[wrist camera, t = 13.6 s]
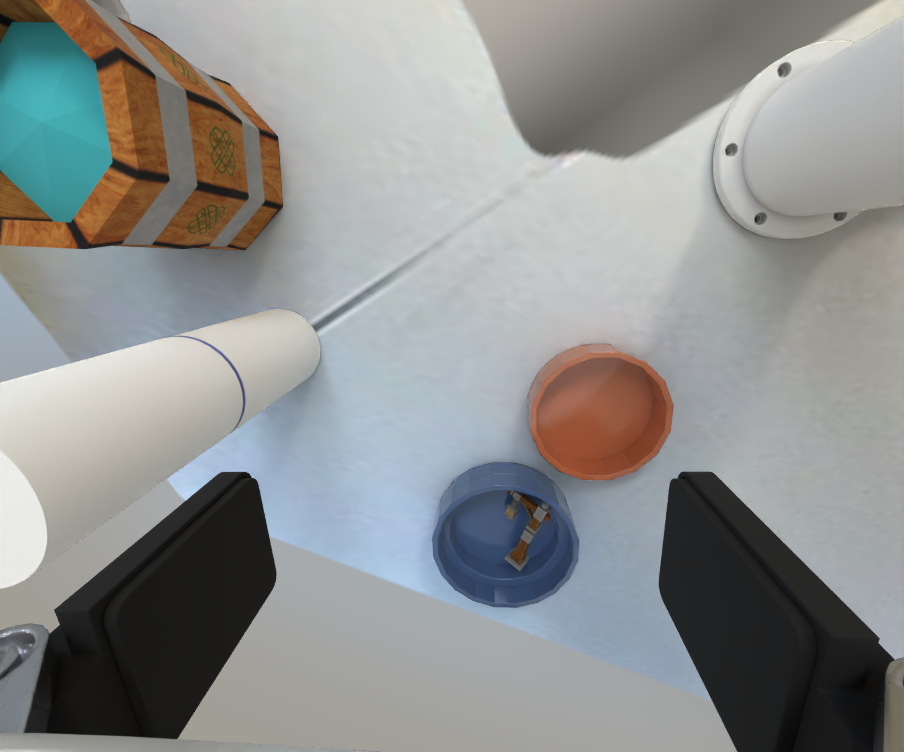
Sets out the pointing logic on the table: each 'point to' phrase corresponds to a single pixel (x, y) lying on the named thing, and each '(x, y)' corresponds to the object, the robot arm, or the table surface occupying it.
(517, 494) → the wooden post with brackets
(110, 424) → the cylindrical container
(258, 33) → the table surface
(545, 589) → the bowl
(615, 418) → the shallow terracotta dish
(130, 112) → the mug
